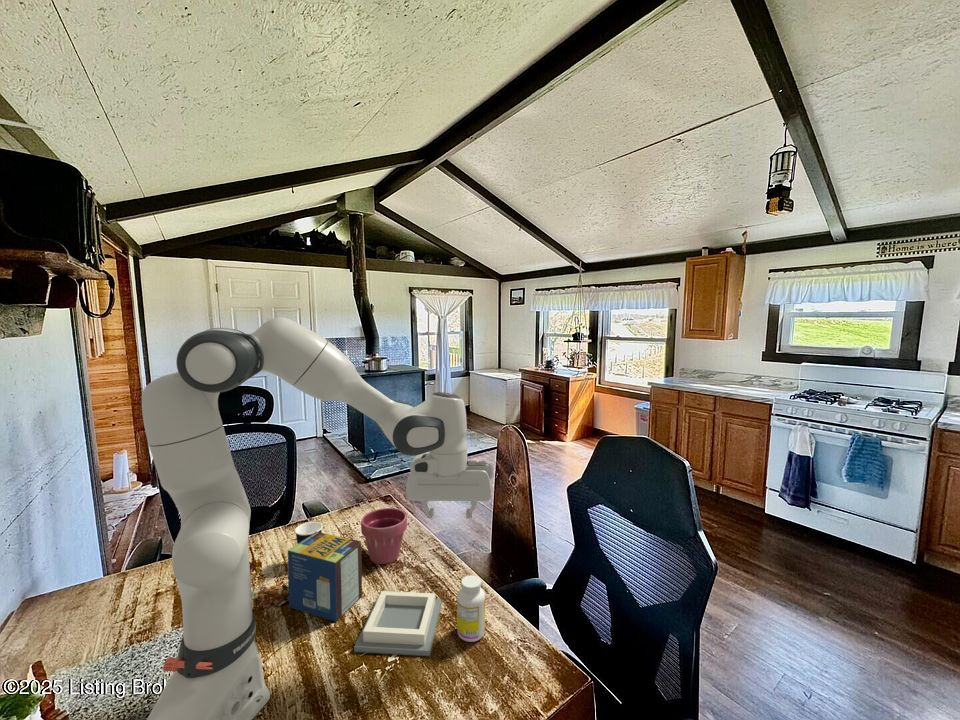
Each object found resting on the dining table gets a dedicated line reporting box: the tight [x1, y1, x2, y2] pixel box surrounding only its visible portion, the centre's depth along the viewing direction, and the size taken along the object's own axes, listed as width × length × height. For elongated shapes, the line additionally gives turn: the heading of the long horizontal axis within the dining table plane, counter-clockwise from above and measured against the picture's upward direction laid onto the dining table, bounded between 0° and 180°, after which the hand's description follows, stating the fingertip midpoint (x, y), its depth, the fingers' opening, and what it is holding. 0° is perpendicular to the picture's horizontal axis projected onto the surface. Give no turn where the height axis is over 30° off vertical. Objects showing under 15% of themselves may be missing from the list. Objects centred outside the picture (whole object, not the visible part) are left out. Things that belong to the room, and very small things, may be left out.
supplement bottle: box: [456, 574, 486, 643], centre depth 94 cm, size 7×7×13 cm
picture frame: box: [353, 590, 443, 657], centre depth 96 cm, size 17×17×4 cm
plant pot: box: [360, 507, 408, 565], centre depth 125 cm, size 14×14×13 cm
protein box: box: [287, 532, 363, 622], centre depth 104 cm, size 10×15×16 cm
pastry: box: [252, 583, 289, 607], centre depth 106 cm, size 7×12×4 cm, turn 83°
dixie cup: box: [294, 521, 324, 544], centre depth 122 cm, size 8×8×11 cm
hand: (449, 517), depth 94 cm, fingers open, 8 cm apart
